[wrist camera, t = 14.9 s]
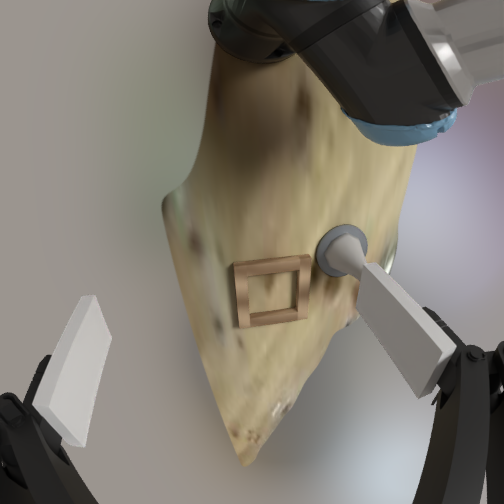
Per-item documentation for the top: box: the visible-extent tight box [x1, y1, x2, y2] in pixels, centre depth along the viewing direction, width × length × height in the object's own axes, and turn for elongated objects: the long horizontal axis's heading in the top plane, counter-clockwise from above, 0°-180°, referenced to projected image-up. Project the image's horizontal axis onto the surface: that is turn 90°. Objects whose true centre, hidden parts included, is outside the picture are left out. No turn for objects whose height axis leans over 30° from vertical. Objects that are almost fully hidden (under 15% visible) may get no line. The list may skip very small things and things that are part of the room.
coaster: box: [316, 224, 368, 277], centre depth 50 cm, size 10×10×1 cm
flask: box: [325, 233, 367, 281], centre depth 46 cm, size 7×7×10 cm
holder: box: [233, 254, 312, 328], centre depth 51 cm, size 13×13×2 cm
